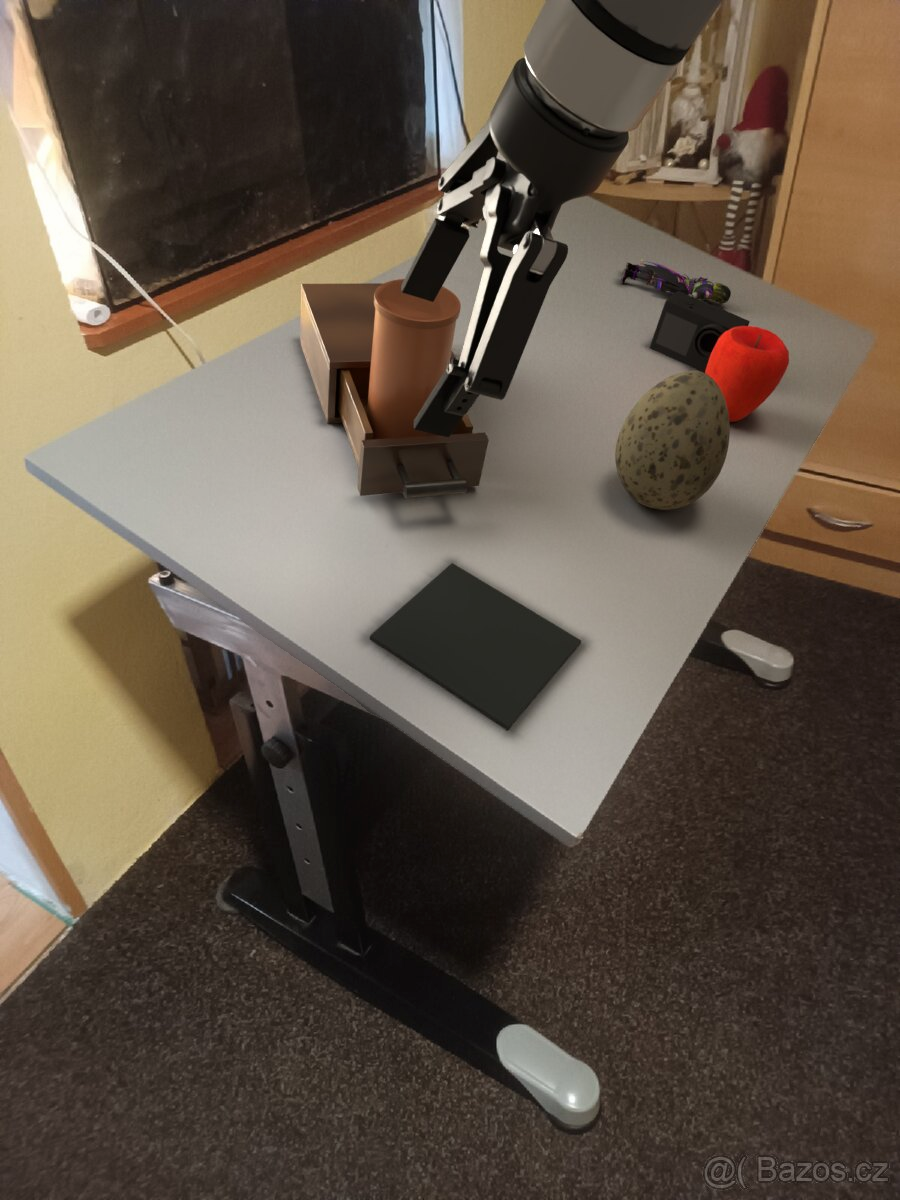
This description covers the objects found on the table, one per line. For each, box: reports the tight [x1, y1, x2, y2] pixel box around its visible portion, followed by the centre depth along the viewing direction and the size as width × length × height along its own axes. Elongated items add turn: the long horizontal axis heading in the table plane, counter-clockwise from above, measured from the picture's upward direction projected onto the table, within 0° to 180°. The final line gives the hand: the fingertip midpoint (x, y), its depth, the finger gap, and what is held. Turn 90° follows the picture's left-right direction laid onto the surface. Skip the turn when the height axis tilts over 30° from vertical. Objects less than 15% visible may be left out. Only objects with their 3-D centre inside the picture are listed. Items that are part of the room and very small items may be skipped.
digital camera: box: [649, 291, 750, 373], centre depth 108 cm, size 10×5×7 cm, turn 55°
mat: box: [369, 562, 582, 731], centre depth 71 cm, size 14×12×1 cm
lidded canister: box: [367, 278, 462, 439], centre depth 81 cm, size 8×8×15 cm
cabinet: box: [299, 282, 457, 425], centre depth 94 cm, size 17×14×8 cm
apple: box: [705, 325, 790, 423], centre depth 99 cm, size 9×9×11 cm
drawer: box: [335, 367, 490, 499], centre depth 84 cm, size 20×12×6 cm, turn 17°
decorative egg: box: [614, 370, 731, 511], centre depth 83 cm, size 11×11×15 cm
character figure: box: [620, 259, 732, 305], centre depth 123 cm, size 9×4×16 cm
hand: (423, 358), depth 62 cm, fingers open, 13 cm apart
